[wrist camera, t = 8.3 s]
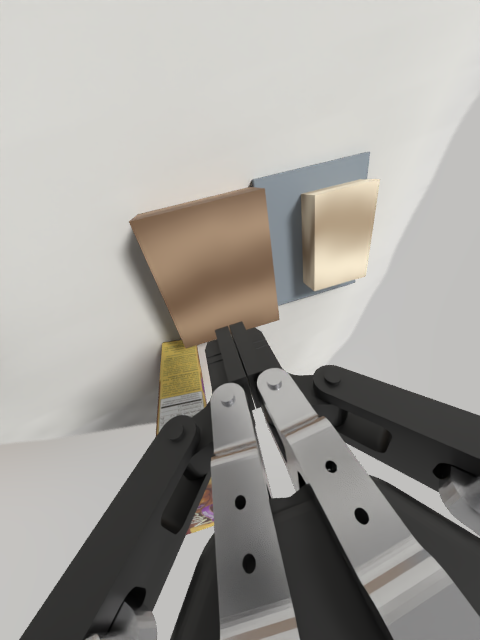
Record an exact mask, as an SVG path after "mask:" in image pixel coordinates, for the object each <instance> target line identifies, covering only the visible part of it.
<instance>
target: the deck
mask: <svg viewBox="0 0 480 640" xmlns="http://www.w3.org/2000/svg"><path fill="white" fill-rule="evenodd" d="M129 223H130V225H131V227H132V230H133V232H134V234H135V236H136V238H137V241H138V243H139V245H140V247H141V250H142V252H143V254H144V256H145V259H146V261H147V263H148V265H149V268H150V270H151V272H152V274H153V277H154V279H155V281H156V283H157V285H158V288H159V290H160V292H161V294H162V297H163V299H164V301H165V303H166V306H167V308H168V310H169V312H170V315H171V317H172V319H173V321H174V324H175V326H176V328H177V330H178V332H179V335H180V337H181V339H182V341H183V344H184V346H185V348H189V347H192V346H196V345H199V344H202V343H205V342H209V341H212V340H215V339H217V337H216V333H215V330H216V329H219V328H222V327H225V326H228V327H229V325H231V324H235V323H238V322H241V321H242V322H243V324H244V326H245V328H246V330H248V329H251V328H254V327H258V326H261V325H264V324H267V323H271V322H274V321H277V320H279V311H278V302H277V293H276V284H275V275H274V266H273V257H272V248H271V239H270V230H269V221H268V212H267V203H266V194H265V188H256V187H248V188H244V189H240V190H236V191H232V192H228V193H224V194H220V195H216V196H212V197H207V198H203V199H199V200H195V201H191V202H187V203H183V204H179V205H175V206H171V207H167V208H163V209H158V210H154V211H150V212H146V213H142V214H138V215H136V216H135V217H134V218H133V219H132V220H130V221H129ZM229 330H230V328H229ZM230 333H231V331H230Z"/></svg>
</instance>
